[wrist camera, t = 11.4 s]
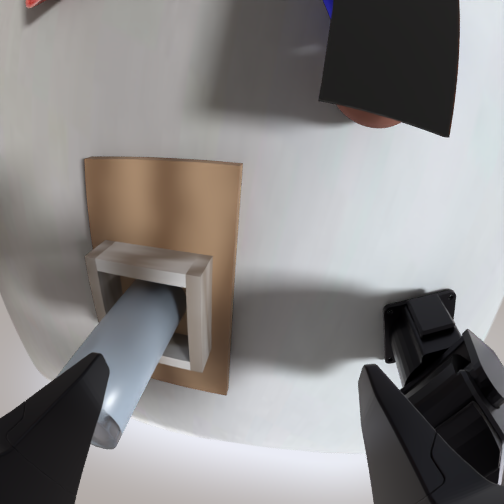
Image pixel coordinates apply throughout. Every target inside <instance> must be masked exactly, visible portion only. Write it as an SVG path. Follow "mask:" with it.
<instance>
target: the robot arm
mask: <svg viewBox="0 0 504 504" xmlns="http://www.w3.org/2000/svg"><path fill="white" fill-rule="evenodd" d="M450 295H451V296H450ZM449 296H450V297H449ZM455 301H456V294H455V293H454V291H453V290H447V291H443V292H439V293H435V294H431V295H427V296H423V297H418V298H414V299H410V300H406V301H402V302H398V303H393V304H389V305H386V306H385V307H384V309H383V320H384V358H385V362H386V363H388V364H389V363H395V362H396V365H397V368H398V372H399V376H400V379H401V383H402V387H403V388H402V389H400V390H399V389H398V388H397V387H396V386H395V384H394V383H393V382H392V381H391V380H390V379H389V378H388V377H387V376H386V374H385V373H384V372H383V371H382V370H381V369H380V368H379V367H378V366H377V365H376V364H366V365H364V366H363V368H362V371H361V374H360V378H359V381H358V390H359V402H360V416H361V427H362V433H363V438H364V444H365V450H366V455H367V461H368V467H369V473H370V480H371V487H372V494H373V501H374V504H504V366H503V365H502V363H501V362H500V360H499V359H498V357H497V355H496V354H495V352H494V351H493V350H492V349H491V348H490V347H488V346H487V345H486V344H485V343H484V342H483V341H482V340H481V339H479V338H478V337H477V336H476V335H475V334H474V333H472V332H471V331H470V330H469V329H467V330H466V331H465V332H464V333H463V334H462V336H461V334H460V332H459V331H458V329H457V327H456V325H455V322H454V321H453V319H454V310H455ZM388 310H391V311H390V312H387V311H388ZM389 358H390V359H389ZM109 375H110V369H109V366H108V364H107V362H106V360H105V358H104V356H103V355H102V354H101V353H96V352H91V353H90V354H88V355H87V356H85V357H84V358H83V359H81V360H80V361H79V362H77V363H76V364H74V365H73V366H72V367H70V368H69V369H68V370H66V371H65V372H64V373H62V374H61V375H60V376H58V377H57V378H55V379H54V380H53V381H51V382H50V383H49V384H48V385H46V386H45V387H43V388H42V389H41V390H39V391H38V392H37V393H35V394H34V395H33V396H31V397H30V398H29V399H27V400H26V402H23V403H22V404H20V405H19V406H18V407H16V408H15V409H14V410H12V411H11V412H9V413H8V414H6V415H5V416H3V417H2V418H0V504H75V500H76V495H77V490H78V487H79V483H80V479H81V475H82V472H83V468H84V465H85V461H86V458H87V454H88V451H89V447H90V444H91V441H92V437H93V434H94V431H95V428H96V425H97V422H98V418H99V415H100V412H101V409H102V405H103V401H104V396H105V392H106V388H107V383H108V379H109Z"/></svg>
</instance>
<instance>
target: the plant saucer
mask: <svg viewBox="0 0 504 504" xmlns="http://www.w3.org/2000/svg"><path fill="white" fill-rule="evenodd" d="M44 1H46V0H26V8H28V9H30V8H33V7H35V6H37V5H38V4H40V3H42V2H44Z"/></svg>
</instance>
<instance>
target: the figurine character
mask: <svg viewBox="0 0 504 504" xmlns="http://www.w3.org/2000/svg"><path fill="white" fill-rule="evenodd" d="M323 2H324V4H325V6H326V9H327V11H328V14H329V16H330V19H331V23H330V30H329V37H328V44H327V51H326V58H325V64H324V71H323V77H322V83H321V89H320V95H319V101H323V102H327V103H332V104H336V105H337V107H338V108H339V109H340V110H341V112H342V113H343V114H344V115H346V116H347V117H348V118H349V119H351V120H352V121H354V122H356V123H358V124H360V125H363V126H366V127H371V128H387V127H391V126H394V125H397V124H399V123H401V122H402V123H406V124H409V125H412V126H415V127H418V128H420V129H423V130H426V131H429V132H432V133H434V134H437V135H440V136H442V137H449V135H450V129H451V123H452V117H453V110H454V102H455V94H456V85H457V74H458V61H459V38H460V9H459V0H323Z"/></svg>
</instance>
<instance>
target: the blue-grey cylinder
mask: <svg viewBox="0 0 504 504" xmlns="http://www.w3.org/2000/svg"><path fill="white" fill-rule="evenodd" d="M186 308H187V304H186V295H185V293H184V291H183V289H182V288H181V287H178V286H173V285H167V284H162V283H156V282H151V281H146V280H140V279H136V280H135V281H134V282H133V283H132V285H131V286H130V287H129V288H128V289H127V290H126V292H125V293H124V294H123V295H122V296H121V297H120V299H119V300H118V301H117V302H116V303H115V304H114V306H113V307H112V308H111V309H110V310H109V312H108V313H107V314H106V315H105V316H104V318H103V319H102V320H101V321H100V322H99V324H98V325H97V326H96V327H95V329H94V330H93V331H92V332H91V334H90V335H89V336H88V337H87V339H86V340H85V341H84V342H83V344H82V345H81V346H80V347H79V349H78V350H77V351H76V352H75V354H74V355H73V356H72V358H71V359H70V360H69V361H68V363H67V364H66V365H65V367H64V368H63V369H62V371H61V372H60V373H59V375H58V376H60V375H61V374H62V373H64V372H65V371H66V370H68V369H69V368H70V367H72V366H73V365H74V364H76V363H77V362H79V361H80V360H81V359H83V358H84V357H85V356H87V355H88V354H90V353H91V352H96V353H101V354H102V355H103V356H104V358H105V360H106V362H107V364H108V366H109V369H110V375H109V379H108V383H107V388H106V392H105V396H104V401H103V405H102V409H101V412H100V415H99V418H98V422H97V425H96V428H95V431H94V434H93V437H92V441H91V444H92V445H94V446H97V447H100V448H103V449H114V448H115V447H116V446H117V444H118V442H119V440H120V437H121V435H122V433H123V431H124V429H125V427H126V425H127V423H128V421H129V419H130V417H131V415H132V413H133V411H134V409H135V407H136V405H137V403H138V401H139V399H140V397H141V395H142V393H143V391H144V389H145V388H146V386H147V384H148V382H149V380H150V378H151V376H152V374H153V372H154V370H155V368H156V366H157V364H158V362H159V360H160V358H161V357H162V355H163V353H164V351H165V349H166V347H167V345H168V343H169V341H170V339H171V338H172V336H173V334H174V332H175V330H176V328H177V326H178V324H179V323H180V321H181V319H182V317H183V315H184V313H185V311H186ZM58 376H57V377H58ZM57 377H56V378H57Z"/></svg>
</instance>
